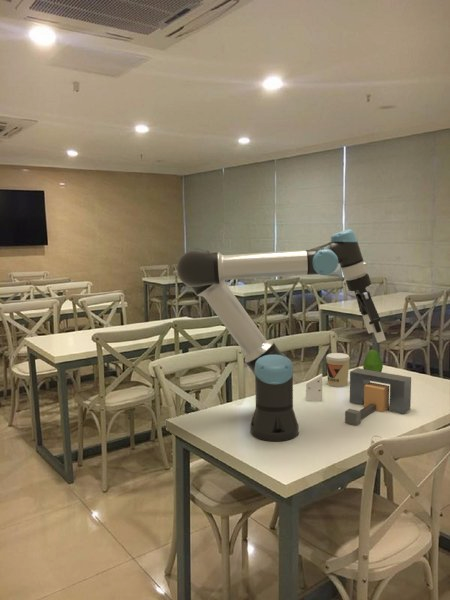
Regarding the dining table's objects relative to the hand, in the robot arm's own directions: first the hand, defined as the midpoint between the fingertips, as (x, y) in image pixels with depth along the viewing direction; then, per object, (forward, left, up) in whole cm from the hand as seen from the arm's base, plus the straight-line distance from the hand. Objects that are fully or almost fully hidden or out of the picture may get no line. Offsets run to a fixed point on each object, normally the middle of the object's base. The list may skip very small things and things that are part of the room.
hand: (376, 336), depth 166 cm
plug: (-1, +3, -27) cm, 27 cm away
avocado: (+42, +20, -27) cm, 54 cm away
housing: (+10, +3, -27) cm, 29 cm away
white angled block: (+2, +25, -28) cm, 37 cm away
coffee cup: (+24, +27, -27) cm, 45 cm away
